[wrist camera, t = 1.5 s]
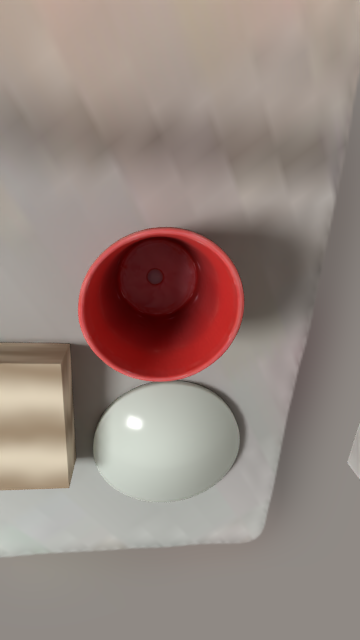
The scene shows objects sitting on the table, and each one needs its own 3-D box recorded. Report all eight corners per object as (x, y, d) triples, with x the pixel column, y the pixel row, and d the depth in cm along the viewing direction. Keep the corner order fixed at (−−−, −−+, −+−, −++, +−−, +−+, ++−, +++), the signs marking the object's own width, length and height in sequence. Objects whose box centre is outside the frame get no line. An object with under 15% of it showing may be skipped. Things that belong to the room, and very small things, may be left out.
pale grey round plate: (92, 379, 34) (91, 385, 34) (246, 380, 36) (249, 385, 36) (95, 497, 40) (94, 505, 39) (228, 492, 42) (230, 499, 41)
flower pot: (83, 224, 29) (56, 242, 20) (210, 206, 30) (240, 216, 21) (108, 337, 33) (96, 394, 24) (220, 319, 34) (249, 369, 25)
